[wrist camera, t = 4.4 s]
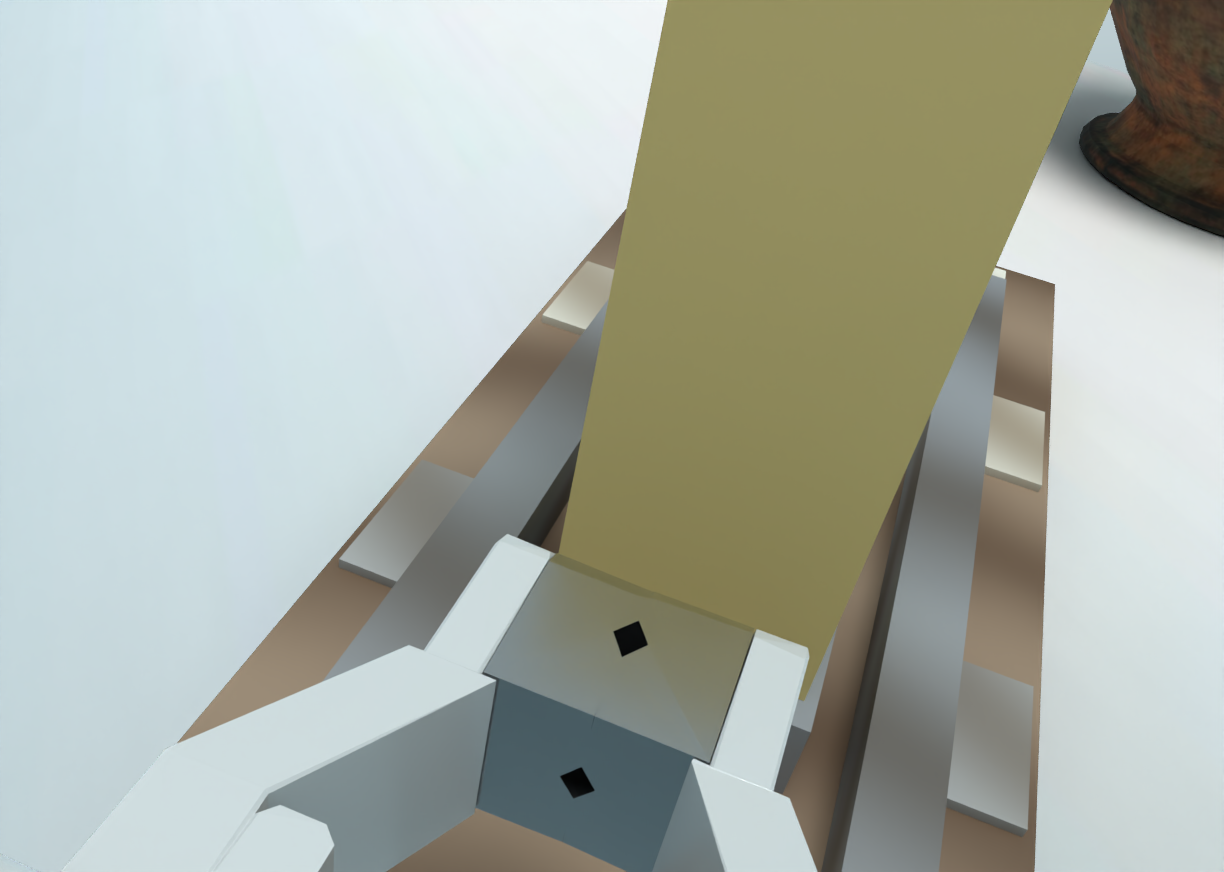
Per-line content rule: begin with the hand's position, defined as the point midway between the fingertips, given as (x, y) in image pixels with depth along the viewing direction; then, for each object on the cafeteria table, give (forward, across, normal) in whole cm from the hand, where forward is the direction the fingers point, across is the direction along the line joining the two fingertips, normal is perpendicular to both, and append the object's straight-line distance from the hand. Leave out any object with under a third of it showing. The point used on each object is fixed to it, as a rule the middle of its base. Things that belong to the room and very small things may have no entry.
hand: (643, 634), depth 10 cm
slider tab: (+6, 0, +6) cm, 8 cm away
